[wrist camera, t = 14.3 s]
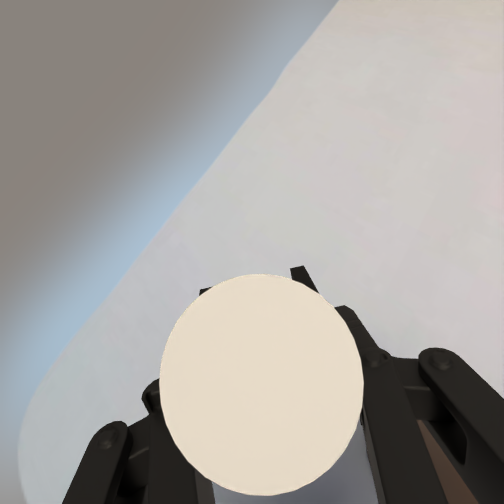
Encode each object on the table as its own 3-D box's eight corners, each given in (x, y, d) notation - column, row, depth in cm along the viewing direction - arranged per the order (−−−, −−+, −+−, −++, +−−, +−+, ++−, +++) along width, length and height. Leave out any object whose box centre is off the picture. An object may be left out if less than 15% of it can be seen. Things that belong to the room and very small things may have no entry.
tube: (262, 418, 19) (209, 546, 5) (233, 355, 21) (132, 329, 7) (320, 384, 20) (409, 421, 6) (286, 325, 21) (294, 242, 7)
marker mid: (391, 516, 17) (421, 557, 13) (352, 421, 19) (369, 434, 15) (471, 484, 17) (523, 516, 14) (425, 393, 19) (459, 399, 15)
